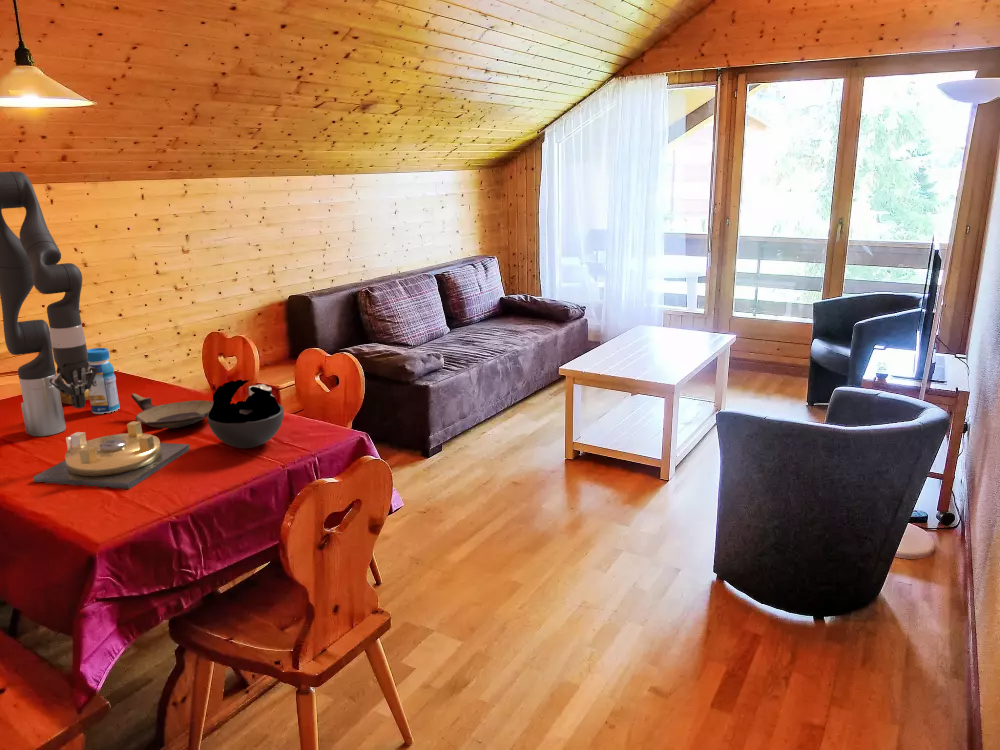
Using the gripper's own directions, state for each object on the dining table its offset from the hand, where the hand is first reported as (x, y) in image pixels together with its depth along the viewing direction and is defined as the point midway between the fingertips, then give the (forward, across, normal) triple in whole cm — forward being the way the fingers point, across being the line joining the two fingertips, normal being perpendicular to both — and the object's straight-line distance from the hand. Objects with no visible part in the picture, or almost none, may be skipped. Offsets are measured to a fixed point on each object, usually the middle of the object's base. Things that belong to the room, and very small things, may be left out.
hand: (79, 407), depth 191 cm
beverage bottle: (+16, +34, +30) cm, 47 cm away
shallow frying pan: (+15, +32, 0) cm, 35 cm away
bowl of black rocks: (+15, +22, -34) cm, 43 cm away
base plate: (+15, 0, -10) cm, 18 cm away
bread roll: (+16, +39, +48) cm, 64 cm away
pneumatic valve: (+15, +40, -26) cm, 50 cm away
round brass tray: (+13, 0, -10) cm, 16 cm away
